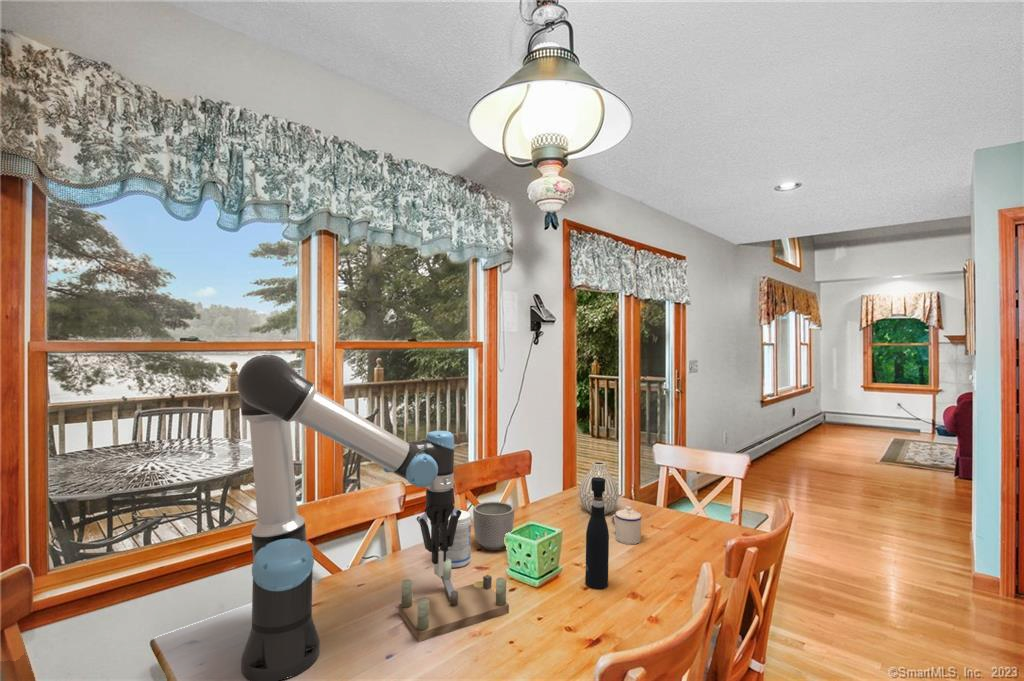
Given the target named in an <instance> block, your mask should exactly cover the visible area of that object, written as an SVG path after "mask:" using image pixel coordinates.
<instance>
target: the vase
mask: <svg viewBox="0 0 1024 681" xmlns="http://www.w3.org/2000/svg"><path fill="white" fill-rule="evenodd" d="M594 477H599V478H604V479H605V491H604V492H603V498H602V499H603V501H604V505H603V506H604V507H605V512H604V516H605V515H607V514H610V513H611V512H613V510H614V509H615V508H616V506H617V504H618V501H619V491H618V490H619V489H618V485H617V483H616V481H615V479H614V477H613V475H612V474H611V472H610V471H609V470H608V467H607V464H606V462H605V461H598V460H596V461H592V463H591V466H590V468H589V470H588V471H587V472H586V474H585V475H584V477H583V478H582V481H581V483H580V486H579V490H578V496H579V500H580V503H581V505H582V507H583V508H584V509H585V510H586V512H588V513H590V514H591V506H592V505H593V504H592V503H593V502H592V500H593V498H594V497H593V496H594V491H592V490H591V482H592V478H594Z"/></svg>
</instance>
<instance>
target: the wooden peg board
mask: <svg viewBox="0 0 1024 681" xmlns="http://www.w3.org/2000/svg"><path fill="white" fill-rule="evenodd" d="M492 578H493V577H492V575H489V574H486V575H484V576H483V577H482V581H481V580H480V581H476V582H474V583H471V584H469V585H464V586H462V587H456V588H454V590H455V591H452V592H451V601H450V600H449V598H448V595H447V592H446V591H443V592H439V593H436V594H432V595H428V596H425V597H420V598H418V599H414V600H413V580H412V579H409V578H406V579H403V580H402V581H401V603H399V604H398V614H400V616H401V618H402V619H403V621H404V622H405V624H406V625H407V626H408V628H409V629H410V631H411V632H412V634H413V635H414V637H415V638H416V639H417V641H418V642H422V641H425V640H428V639H431V638H435V637H438V636H441V635H443V634H446V633H449V632H452V631H456V630H459V629H463V628H466V627H468V626H472V625H475V624H479V623H480V622H484V621H487V620H491V619H493V618H496V617H499V616H503V615H506V614H509V613H510V604H509V603H508V602H507V578H505V577H497V578H496V579H495V591H494V590H493V589H492Z"/></svg>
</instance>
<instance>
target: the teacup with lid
mask: <svg viewBox="0 0 1024 681" xmlns="http://www.w3.org/2000/svg"><path fill="white" fill-rule="evenodd" d="M642 518H643V517H642V514H641V513H640V512H638V511H636V510H634V509H633V508H632V506H628V505H626V506H625V508H623V509H619V510H617V511H616V512H615V514H612V515H611V518H610V521H611V522H610V523H611V525H612V526H613V528H614V529H615V539H616V541H617V542H619V543H621V544H623V543H624V544H625V545H630V544H632V545H637V543H638V544H639V543H641V541H642V540H641V536H642V527H641V526H642Z"/></svg>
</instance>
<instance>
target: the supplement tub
mask: <svg viewBox="0 0 1024 681" xmlns="http://www.w3.org/2000/svg"><path fill="white" fill-rule="evenodd" d="M459 510H460V511H461V515H460V517H459V519H458V523H457V527H456V532H455V536H454V541H453V545H452V546H451V547H448V551H447V552H446V559H451V569H453V568H461V567H464V566H467V565H468V564H469V563H470V562H471V550H472V549H471V546H472V545H471V543H472V542H471V541H472V539H471V538H472V537H471V536H472V533H471V532H472V528H471V527H472V522H471V520H472V519H471V513H470V512H469V511H465V510H463V509H459ZM450 516H451V515H450ZM449 520H450V517H449V519H448V525H449ZM447 529H448V526H447Z"/></svg>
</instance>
